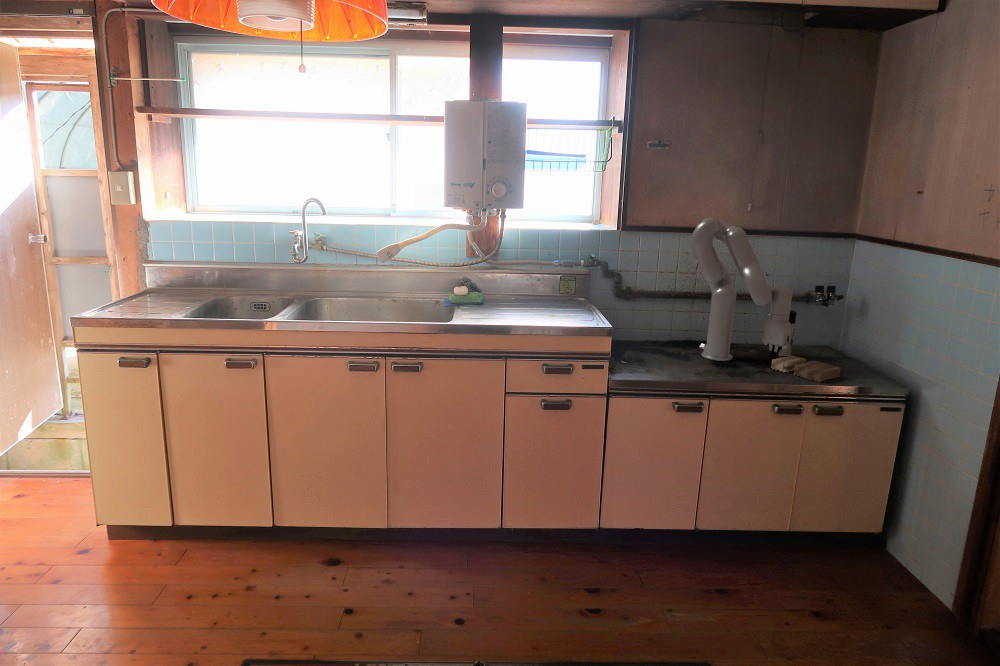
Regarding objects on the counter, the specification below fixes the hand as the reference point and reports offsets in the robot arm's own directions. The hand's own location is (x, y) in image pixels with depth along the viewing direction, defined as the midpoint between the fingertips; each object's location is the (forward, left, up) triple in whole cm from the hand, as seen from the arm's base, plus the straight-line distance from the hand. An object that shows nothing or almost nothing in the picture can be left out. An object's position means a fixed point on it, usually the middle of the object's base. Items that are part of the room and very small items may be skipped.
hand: (773, 360), depth 273 cm
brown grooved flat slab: (+19, 0, -2) cm, 19 cm away
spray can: (-6, +17, -2) cm, 18 cm away
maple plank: (+6, 0, -2) cm, 6 cm away
